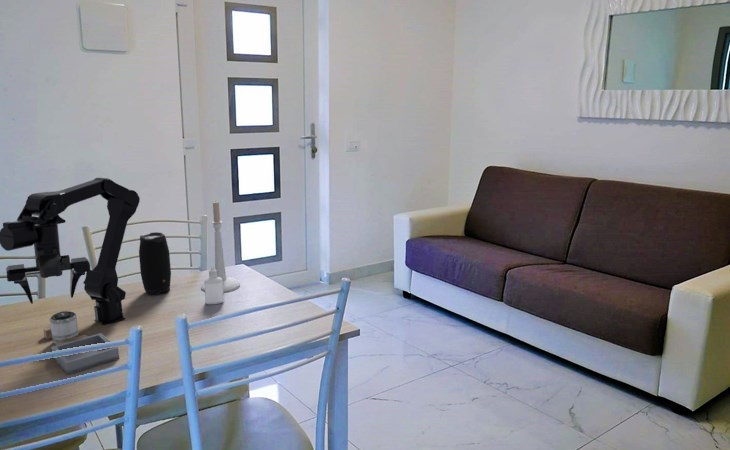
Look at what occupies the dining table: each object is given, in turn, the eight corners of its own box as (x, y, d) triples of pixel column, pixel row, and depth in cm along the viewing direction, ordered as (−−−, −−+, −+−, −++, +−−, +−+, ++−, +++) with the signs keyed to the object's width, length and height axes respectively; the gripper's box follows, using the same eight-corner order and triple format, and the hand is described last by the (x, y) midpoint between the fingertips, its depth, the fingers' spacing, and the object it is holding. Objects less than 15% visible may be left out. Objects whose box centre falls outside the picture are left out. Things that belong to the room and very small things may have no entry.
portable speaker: (174, 293, 185) (169, 236, 181) (144, 298, 181) (139, 240, 176) (169, 285, 193) (165, 230, 188) (140, 290, 188) (135, 234, 184)
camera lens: (58, 348, 146) (54, 320, 144) (49, 341, 150) (45, 314, 148) (83, 341, 150) (79, 313, 148) (74, 334, 154) (70, 307, 152)
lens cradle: (72, 329, 157) (71, 321, 157) (89, 345, 147) (87, 336, 147) (44, 336, 153) (43, 328, 152) (60, 354, 143) (58, 345, 142)
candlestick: (240, 291, 187) (235, 203, 180) (200, 294, 184) (194, 205, 177) (239, 279, 199) (235, 196, 192) (202, 281, 196) (196, 198, 189)
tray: (102, 343, 149) (101, 332, 148) (119, 358, 140) (118, 347, 140) (52, 357, 141) (51, 346, 140) (67, 375, 132) (66, 363, 132)
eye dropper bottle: (219, 305, 175) (217, 269, 172) (203, 304, 176) (200, 268, 173) (226, 300, 179) (223, 265, 176) (210, 299, 180) (207, 263, 177)
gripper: (4, 253, 132) (11, 316, 135) (91, 244, 142) (96, 303, 145) (3, 244, 141) (9, 303, 144) (85, 236, 151) (89, 291, 154)
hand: (52, 300), depth 147 cm, fingers open, 9 cm apart
